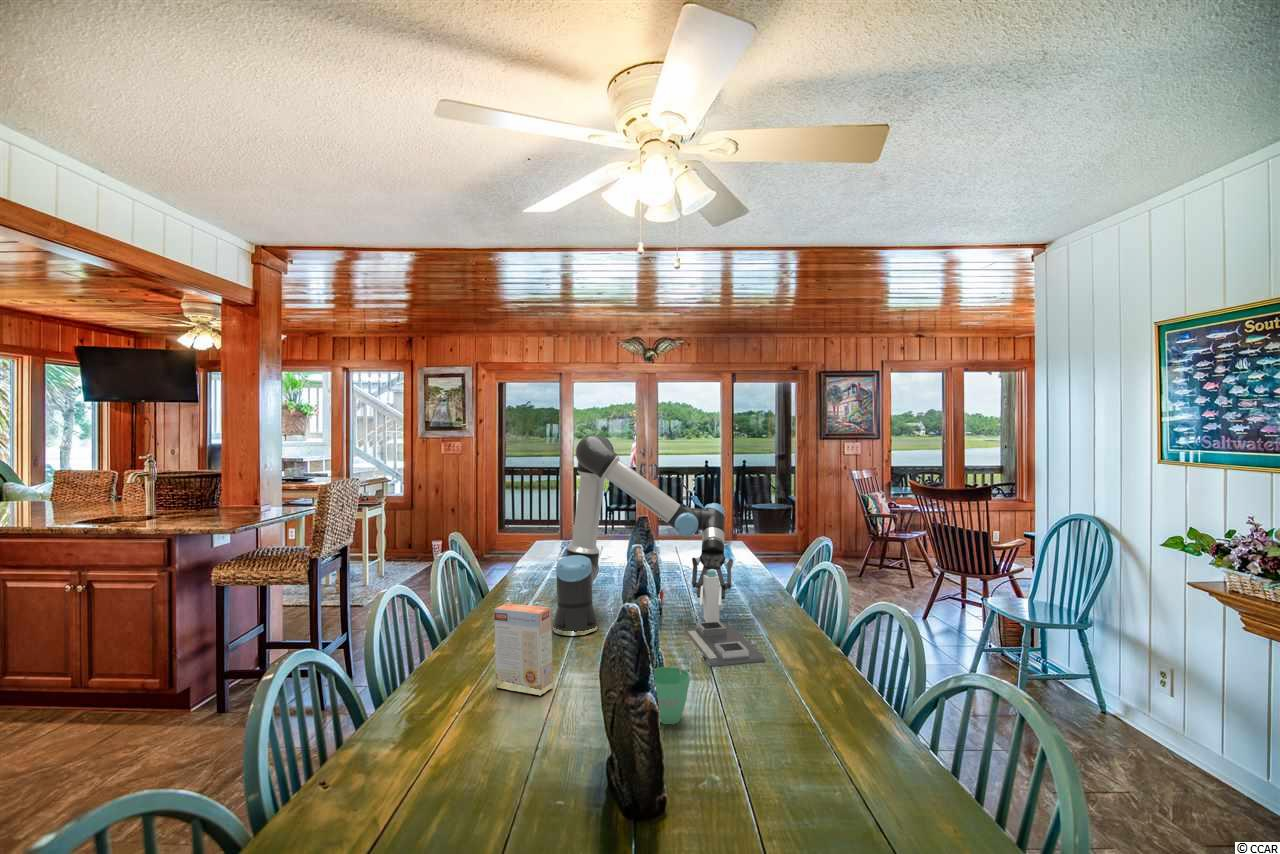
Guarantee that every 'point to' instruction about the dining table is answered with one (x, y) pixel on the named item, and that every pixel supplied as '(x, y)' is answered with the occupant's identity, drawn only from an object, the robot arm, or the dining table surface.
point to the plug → (711, 596)
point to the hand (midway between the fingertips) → (710, 606)
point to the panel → (722, 644)
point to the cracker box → (523, 645)
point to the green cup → (671, 693)
